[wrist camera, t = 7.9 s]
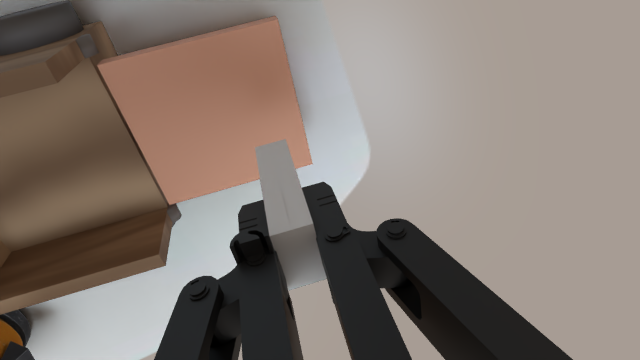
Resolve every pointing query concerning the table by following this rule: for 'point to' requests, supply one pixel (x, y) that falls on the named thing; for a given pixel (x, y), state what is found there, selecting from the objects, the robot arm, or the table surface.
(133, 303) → the table surface
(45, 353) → the table surface
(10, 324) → the canister
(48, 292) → the truck
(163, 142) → the panel
